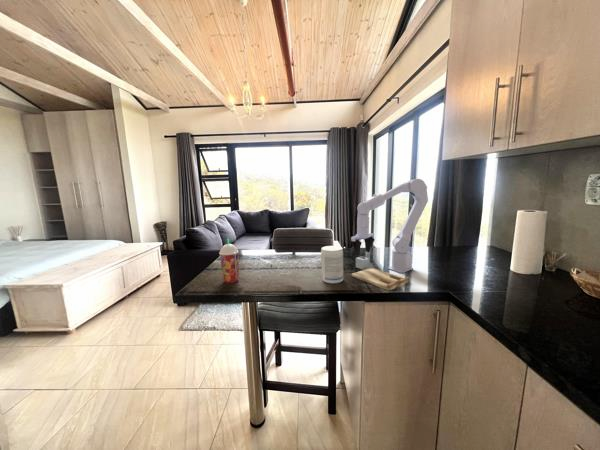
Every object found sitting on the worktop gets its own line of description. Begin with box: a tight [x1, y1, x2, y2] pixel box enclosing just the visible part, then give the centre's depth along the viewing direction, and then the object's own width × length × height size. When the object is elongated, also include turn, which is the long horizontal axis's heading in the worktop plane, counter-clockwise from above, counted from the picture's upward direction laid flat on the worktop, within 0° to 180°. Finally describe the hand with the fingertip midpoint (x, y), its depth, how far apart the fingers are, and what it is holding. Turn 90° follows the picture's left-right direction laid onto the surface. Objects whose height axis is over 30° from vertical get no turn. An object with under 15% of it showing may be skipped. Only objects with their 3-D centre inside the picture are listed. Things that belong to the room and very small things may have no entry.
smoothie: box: [218, 237, 240, 284], centre depth 108 cm, size 8×8×20 cm
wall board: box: [351, 267, 411, 292], centre depth 107 cm, size 14×20×2 cm
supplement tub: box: [320, 245, 344, 284], centre depth 107 cm, size 10×10×15 cm
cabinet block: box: [355, 255, 370, 271], centre depth 122 cm, size 4×5×6 cm
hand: (362, 253), depth 122 cm, fingers open, 7 cm apart
